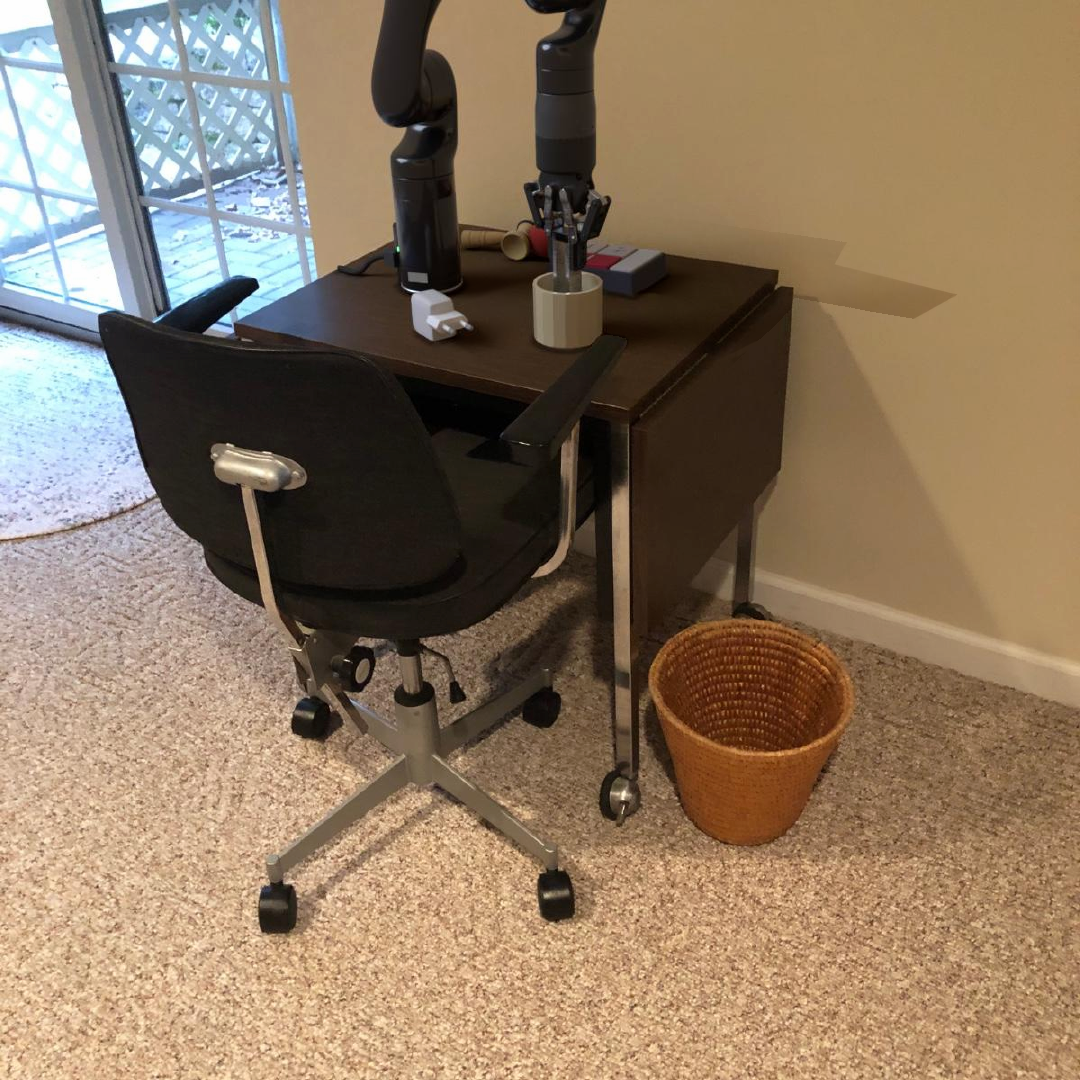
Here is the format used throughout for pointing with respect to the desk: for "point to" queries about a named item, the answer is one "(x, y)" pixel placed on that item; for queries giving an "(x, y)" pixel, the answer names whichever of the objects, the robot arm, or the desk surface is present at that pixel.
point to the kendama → (511, 240)
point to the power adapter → (436, 315)
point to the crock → (567, 312)
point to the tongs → (564, 264)
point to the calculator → (624, 266)
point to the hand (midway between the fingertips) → (567, 265)
